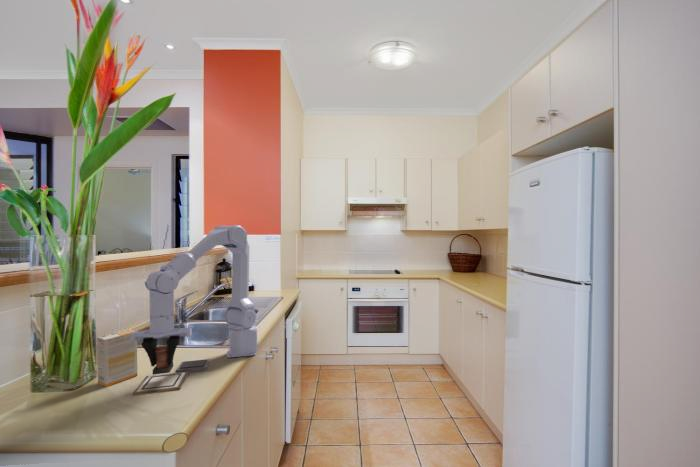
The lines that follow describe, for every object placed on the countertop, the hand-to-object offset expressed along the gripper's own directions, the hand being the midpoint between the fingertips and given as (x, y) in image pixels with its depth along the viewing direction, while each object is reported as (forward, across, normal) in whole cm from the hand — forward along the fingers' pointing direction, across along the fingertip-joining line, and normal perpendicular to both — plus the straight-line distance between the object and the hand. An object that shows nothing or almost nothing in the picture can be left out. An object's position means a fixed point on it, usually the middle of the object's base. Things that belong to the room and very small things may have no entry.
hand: (162, 364), depth 88 cm
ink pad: (+5, +6, +9) cm, 12 cm away
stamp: (+2, 0, 0) cm, 2 cm away
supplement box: (+6, -13, +6) cm, 15 cm away
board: (+5, 0, 0) cm, 5 cm away
